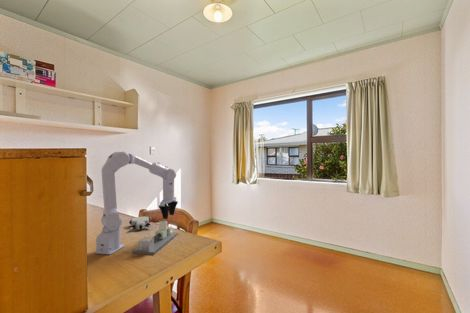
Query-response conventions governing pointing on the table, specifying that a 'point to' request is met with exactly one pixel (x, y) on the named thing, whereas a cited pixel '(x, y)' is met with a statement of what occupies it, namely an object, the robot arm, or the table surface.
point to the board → (158, 243)
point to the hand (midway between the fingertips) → (168, 216)
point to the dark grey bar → (158, 236)
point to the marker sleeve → (162, 229)
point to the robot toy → (140, 222)
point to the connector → (146, 244)
